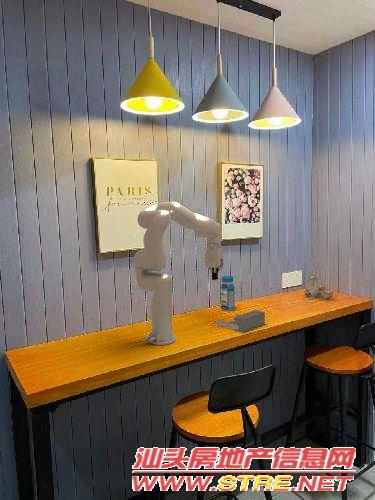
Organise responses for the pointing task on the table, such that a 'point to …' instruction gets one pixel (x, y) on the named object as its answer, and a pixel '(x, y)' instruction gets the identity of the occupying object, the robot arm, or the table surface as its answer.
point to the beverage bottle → (227, 294)
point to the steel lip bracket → (245, 321)
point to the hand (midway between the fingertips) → (214, 279)
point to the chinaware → (316, 289)
